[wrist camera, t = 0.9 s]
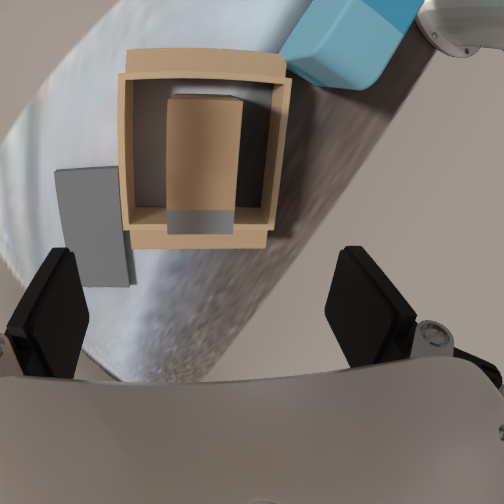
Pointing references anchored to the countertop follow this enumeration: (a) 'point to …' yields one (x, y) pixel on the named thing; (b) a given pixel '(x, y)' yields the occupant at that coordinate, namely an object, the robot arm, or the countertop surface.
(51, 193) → the countertop surface
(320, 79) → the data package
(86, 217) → the mat
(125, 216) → the carton
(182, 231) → the walnut box
